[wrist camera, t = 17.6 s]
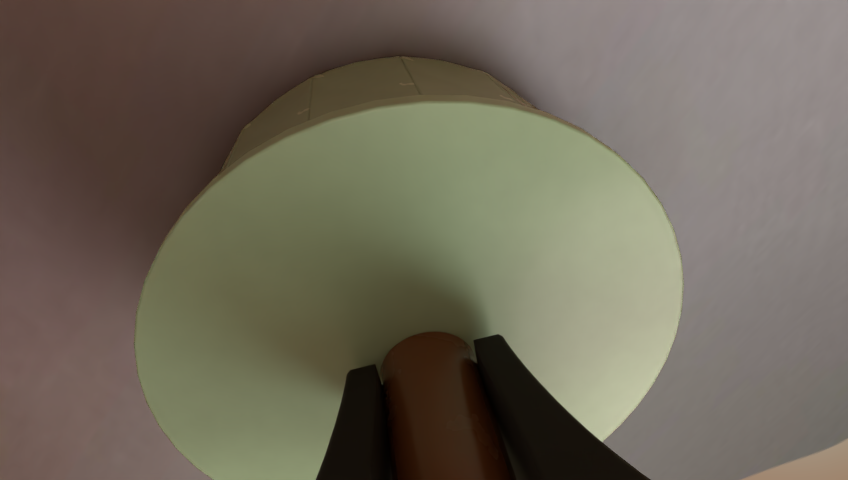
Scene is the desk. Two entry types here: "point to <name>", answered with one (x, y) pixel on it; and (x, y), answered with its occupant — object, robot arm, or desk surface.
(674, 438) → the desk surface
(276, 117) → the pot
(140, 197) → the desk surface
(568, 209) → the lid
